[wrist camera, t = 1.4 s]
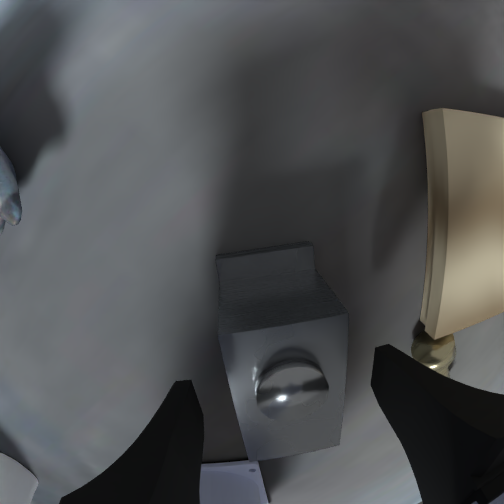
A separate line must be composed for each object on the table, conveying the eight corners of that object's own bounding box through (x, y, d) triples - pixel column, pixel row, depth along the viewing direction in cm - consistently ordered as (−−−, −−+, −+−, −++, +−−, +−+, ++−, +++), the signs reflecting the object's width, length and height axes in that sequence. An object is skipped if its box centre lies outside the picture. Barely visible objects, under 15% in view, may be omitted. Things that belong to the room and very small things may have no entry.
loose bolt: (450, 374, 17) (469, 396, 14) (421, 395, 17) (438, 419, 15) (438, 319, 15) (462, 342, 13) (403, 345, 15) (425, 371, 13)
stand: (523, 282, 15) (541, 292, 13) (415, 321, 15) (434, 339, 13) (532, 129, 12) (553, 130, 10) (416, 111, 12) (442, 108, 10)
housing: (314, 392, 16) (341, 465, 11) (245, 404, 16) (253, 482, 11) (308, 240, 13) (356, 292, 8) (216, 253, 13) (210, 315, 8)
